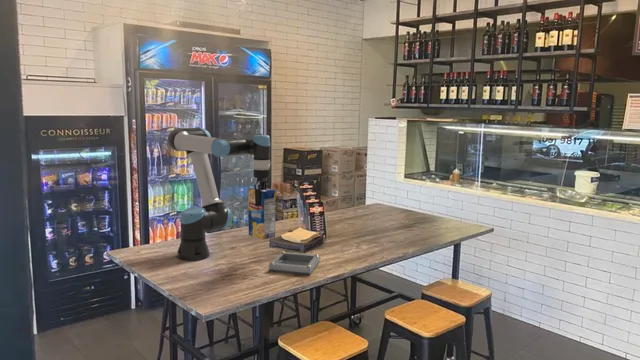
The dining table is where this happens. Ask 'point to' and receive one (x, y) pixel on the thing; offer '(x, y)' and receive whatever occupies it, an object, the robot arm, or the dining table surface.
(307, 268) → the socket
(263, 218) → the beverage box
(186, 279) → the dining table surface
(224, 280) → the dining table surface
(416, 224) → the dining table surface
